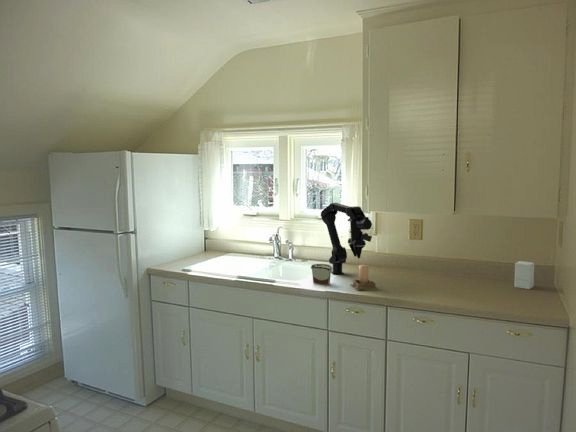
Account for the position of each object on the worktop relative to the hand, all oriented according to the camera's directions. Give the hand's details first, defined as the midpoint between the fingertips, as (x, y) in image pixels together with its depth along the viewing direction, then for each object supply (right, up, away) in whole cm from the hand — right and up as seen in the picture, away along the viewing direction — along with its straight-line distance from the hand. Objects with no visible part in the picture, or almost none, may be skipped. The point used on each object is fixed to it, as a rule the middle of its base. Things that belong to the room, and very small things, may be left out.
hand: (357, 257), depth 242 cm
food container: (-19, -14, -4) cm, 24 cm away
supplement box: (+83, -14, -17) cm, 86 cm away
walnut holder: (+1, -14, -14) cm, 20 cm away
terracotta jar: (+1, -14, -14) cm, 20 cm away
